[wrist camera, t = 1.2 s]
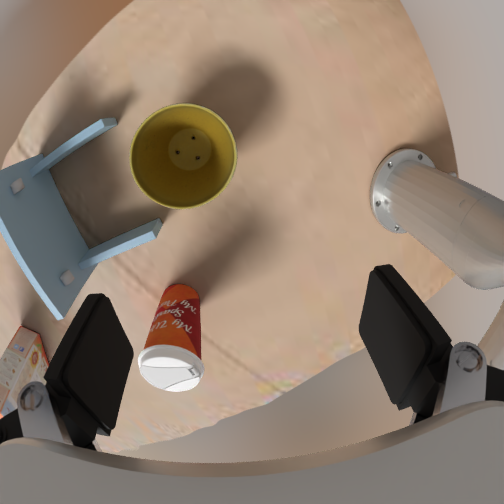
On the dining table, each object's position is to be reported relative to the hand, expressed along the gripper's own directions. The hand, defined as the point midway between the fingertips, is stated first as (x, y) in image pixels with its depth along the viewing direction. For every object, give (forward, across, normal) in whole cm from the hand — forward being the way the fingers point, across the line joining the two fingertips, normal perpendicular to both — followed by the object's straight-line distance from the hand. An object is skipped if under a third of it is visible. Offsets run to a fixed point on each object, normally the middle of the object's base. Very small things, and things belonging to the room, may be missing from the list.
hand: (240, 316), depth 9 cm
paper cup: (+25, +10, +18) cm, 32 cm away
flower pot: (+25, +5, -3) cm, 26 cm away
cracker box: (+24, +48, +29) cm, 61 cm away
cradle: (+24, +17, 0) cm, 30 cm away
